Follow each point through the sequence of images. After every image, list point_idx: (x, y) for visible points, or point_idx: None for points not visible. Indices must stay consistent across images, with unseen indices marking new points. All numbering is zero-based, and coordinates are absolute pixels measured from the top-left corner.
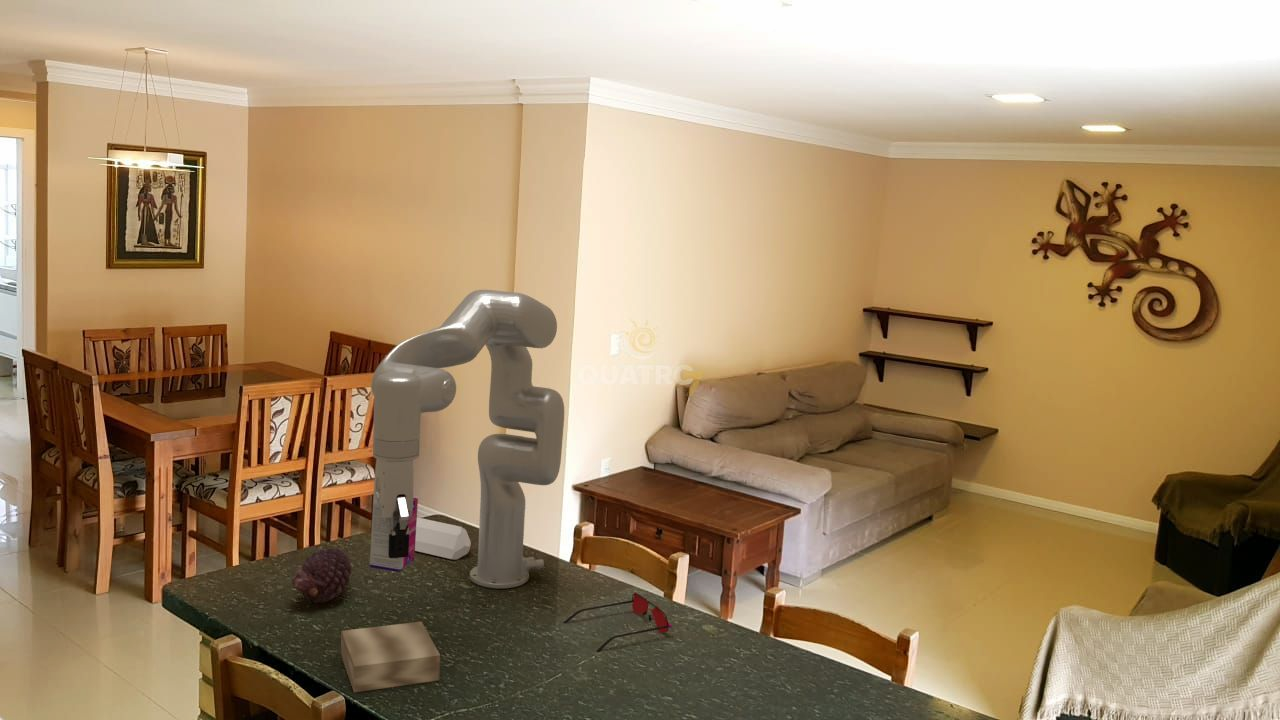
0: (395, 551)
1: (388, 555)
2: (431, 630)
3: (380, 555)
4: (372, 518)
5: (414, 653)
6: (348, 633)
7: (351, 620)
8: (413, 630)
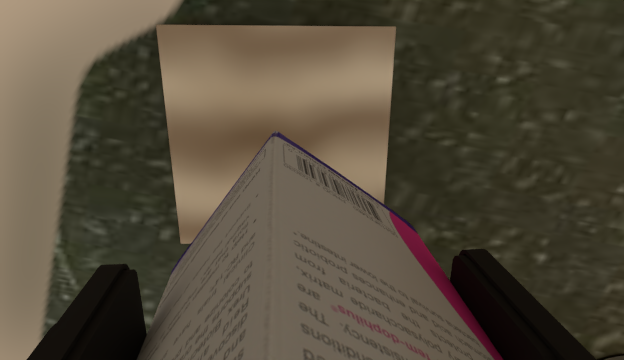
0: (49, 332)
1: (118, 266)
2: (429, 243)
3: (227, 214)
4: (263, 357)
5: (204, 189)
6: (372, 43)
7: (552, 84)
8: None
